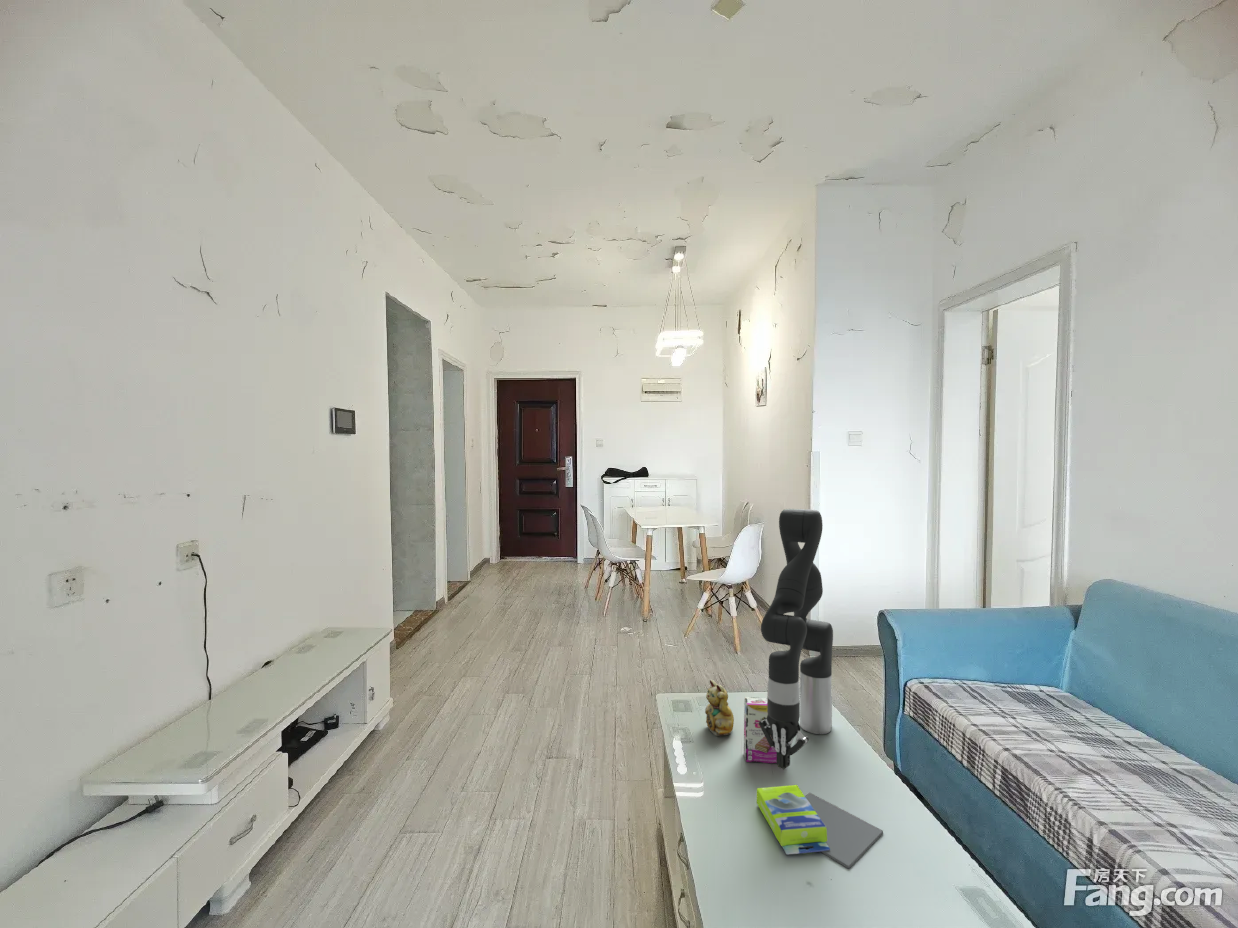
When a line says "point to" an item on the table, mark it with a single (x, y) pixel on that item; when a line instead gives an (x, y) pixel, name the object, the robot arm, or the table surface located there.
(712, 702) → the decorative figurine
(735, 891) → the table surface
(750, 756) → the candy bar box
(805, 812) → the box
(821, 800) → the mat
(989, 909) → the table surface
